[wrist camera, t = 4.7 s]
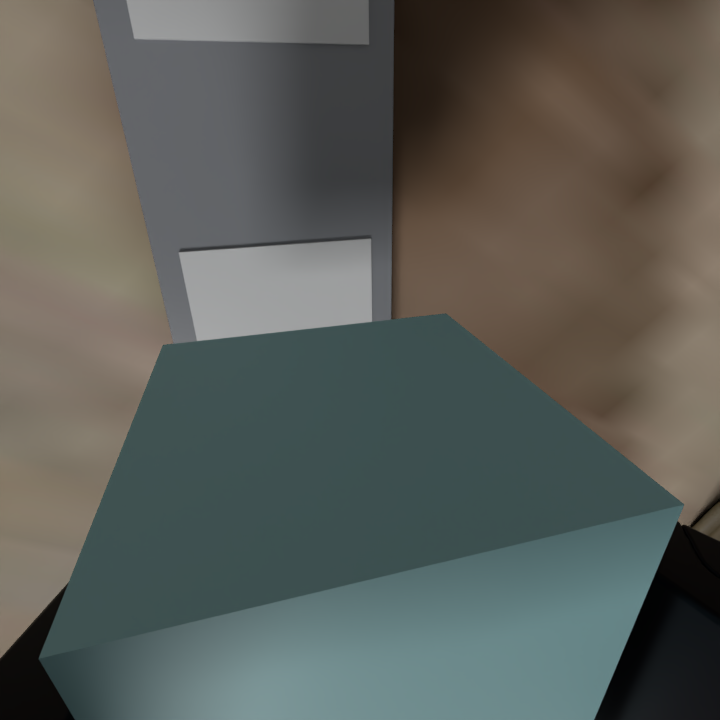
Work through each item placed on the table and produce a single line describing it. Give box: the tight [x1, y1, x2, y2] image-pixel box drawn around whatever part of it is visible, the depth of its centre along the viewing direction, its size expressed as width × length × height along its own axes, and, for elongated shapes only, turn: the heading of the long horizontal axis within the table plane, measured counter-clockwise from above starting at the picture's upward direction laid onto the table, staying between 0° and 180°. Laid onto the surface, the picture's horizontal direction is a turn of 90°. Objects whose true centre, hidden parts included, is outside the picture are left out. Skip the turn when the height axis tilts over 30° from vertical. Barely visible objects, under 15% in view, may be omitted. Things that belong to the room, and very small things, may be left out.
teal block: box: [39, 314, 684, 720], centre depth 7 cm, size 5×5×5 cm
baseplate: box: [93, 0, 394, 344], centre depth 12 cm, size 7×17×2 cm, turn 1°
